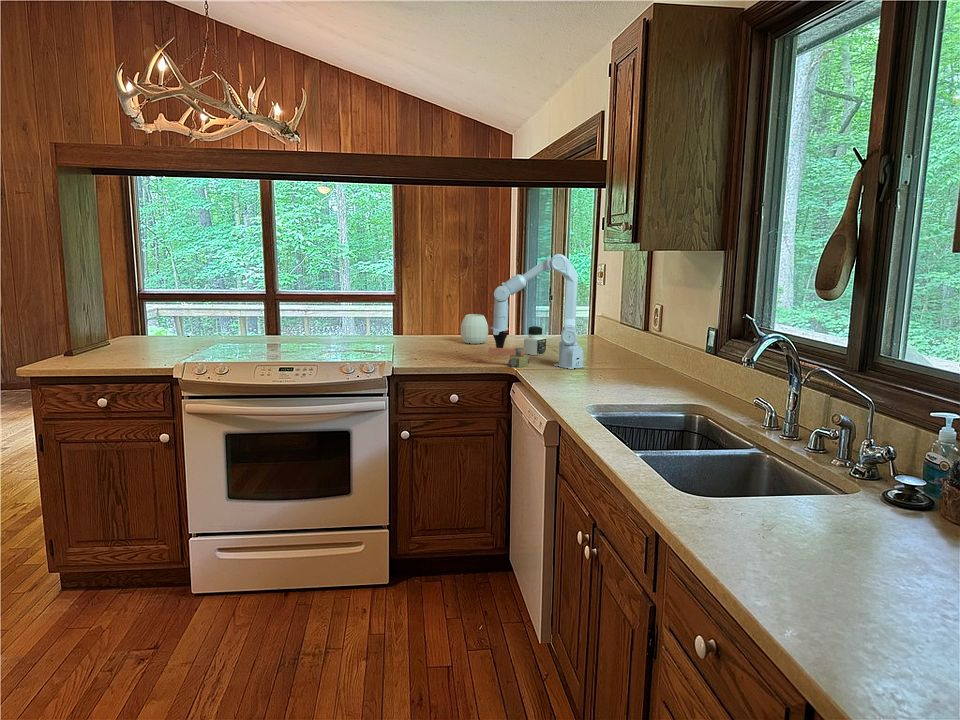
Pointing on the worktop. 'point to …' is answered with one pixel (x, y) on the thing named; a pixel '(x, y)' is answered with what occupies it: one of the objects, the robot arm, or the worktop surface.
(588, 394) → the worktop surface
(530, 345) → the medicine bottle
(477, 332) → the cup
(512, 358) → the valve
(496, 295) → the robot arm
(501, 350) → the lever
